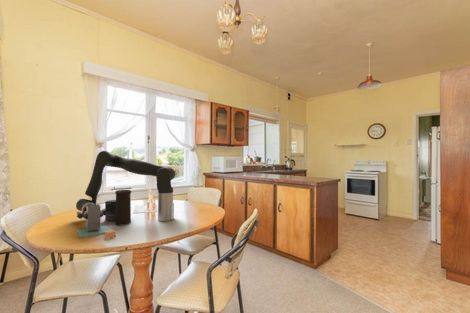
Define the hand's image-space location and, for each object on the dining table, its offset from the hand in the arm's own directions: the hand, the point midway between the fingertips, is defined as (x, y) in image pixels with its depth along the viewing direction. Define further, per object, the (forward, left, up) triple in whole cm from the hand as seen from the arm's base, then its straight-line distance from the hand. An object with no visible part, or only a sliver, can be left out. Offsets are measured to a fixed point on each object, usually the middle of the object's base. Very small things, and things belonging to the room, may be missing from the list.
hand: (94, 216), depth 118 cm
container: (-6, -18, -9) cm, 21 cm away
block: (-11, +6, -9) cm, 16 cm away
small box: (+1, -26, -9) cm, 28 cm away
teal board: (+2, -2, -9) cm, 9 cm away
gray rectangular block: (+2, -2, -7) cm, 7 cm away
